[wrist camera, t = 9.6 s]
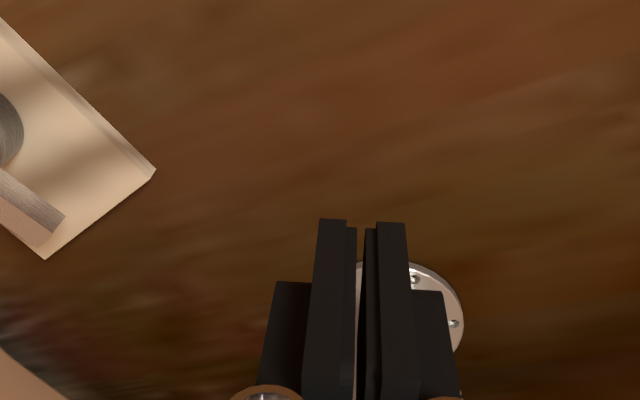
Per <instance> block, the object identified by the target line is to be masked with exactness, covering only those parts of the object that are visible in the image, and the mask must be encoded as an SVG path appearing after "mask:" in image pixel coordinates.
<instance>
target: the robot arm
mask: <svg viewBox="0 0 640 400" xmlns="http://www.w3.org/2000/svg"><path fill="white" fill-rule="evenodd" d="M346 223H347V220H343V219H325V218H320V220H319V228H318V236H317V245H316V254H315V262H314V271H313V279H312V283H303V282H287V281H277V283H276V286H275V290H274V295H273V300H272V305H271V311H270V316H269V321H268V326H267V331H266V336H265V341H264V346H263V351H262V356H261V361H260V366H259V371H258V376H257V381H256V386H253V387H249V388H247V389H245V390H243V391H241V392H238V393H237V394H236V395H234V396H233V397H232V398H231V399H230V400H463V399H461V391H460V388H459V383H458V377H457V371H456V365H455V360H454V354H453V352H454V351H455V350H456V348H457V347H458V345H459V342H460V340H461V338H462V334H463V328H464V322H463V313H462V309H461V305H460V301H459V299H458V297H457V295H456V294H455V292H454V290H453V289H452V288H451V287H450V285H449V284H448V283H447V282H446V281H445V280H444V279H442V278H441V277H440V276H439V275H437V274H436V273H435V272H433V271H431V270H429V269H427V268H425V267H423V266H420V265H417V264H414V263H411V262H409V261H408V251H407V242H406V232H405V224H404V223H396V222H378V221H377V222H376V229H374V228H366V229H365V240H364V252H363V261H361V262H358V263H356V260H357V228H356V227H346Z"/></svg>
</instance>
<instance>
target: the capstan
mask: <svg viewBox="0 0 640 400" xmlns="http://www.w3.org/2000/svg"><path fill="white" fill-rule="evenodd" d="M23 140H24V129H23V124H22V121H21V118H20V116H19V114H18V112H17V111H16V109H15V107H14V106H13V105H12V104H11V102H10V101H9V100H8V99H7V98H6V97H5V96H4V95H2V94H1V93H0V223H1V224H3V225H4V226H6V227H7V228H8V229H10V230H11V231H13V232H14V233H16V234H17V235H19V236H20V237H21V238H23V239H24V240H26V241H27V242H29V243H30V244H31V245H33V246H34V247H36V248H37V249H38V248H39V247H40V246H41V245H42V244H43V243H44V242H45V241H46V240H47V239H48V238H49V237H50V236H51V234H52V233H53V232H54V231H55V230H56V228H57V227H58V226H59V225H60V223H61V222H62V221H63V219H64V218H65V217H66V216H65V215H64V214H63V213H61V212H60V211H58V210H57V209H56V208H54V207H53V206H52V205H50V204H49V203H48V202H46V201H45V200H43V199H42V198H41V197H39V196H38V195H37V194H35V193H34V192H33V191H31V190H30V189H29V188H27V187H26V186H24V185H23V184H22V183H20V182H19V181H18V180H16V179H15V178H14V177H12V176H11V175H9V174H8V173H7V172H5V171H4V170H3V169H1V167H2V166H3V165H4V164H6V163H7V162H8V161H9V160H10V159H11V158H12V157H13V156H14V155H15V154H16V153H17V152H18V151H19V150H20V148H21V146H22V144H23Z"/></svg>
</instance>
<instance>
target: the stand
mask: <svg viewBox="0 0 640 400" xmlns="http://www.w3.org/2000/svg"><path fill="white" fill-rule="evenodd" d="M0 93H1V94H2V95H4V96H5V97H6V98H7V99H8V100H9V101H10V102H11V104H12V105H13V106H14V107H15V109H16V111H17V112H18V114H19V116H20V118H21V121H22V124H23V129H24V140H23V144H22V146H21V148H20V150H19V151H18V152H17V153H16V154H15V155H14V156H13V157H12V158H11V159H10V160H9V161H8V162H7V163H6V164H4V165H3V166H2V167H1V169H3V170H4V171H5V172H7V173H8V174H9V175H11V176H12V177H14V178H15V179H16V180H18V181H19V182H20V183H22V184H23V185H24V186H26V187H27V188H29V189H30V190H31V191H33V192H34V193H35V194H37V195H38V196H39V197H41V198H42V199H43V200H45V201H46V202H48V203H49V204H50V205H52V206H53V207H54V208H56V209H57V210H58V211H60V212H61V213H63V214H64V215H65V216H66V217H65V218H64V219H63V221H62V222H61V223H60V225H59V226H58V227H57V228H56V230H55V231H54V232H53V233H52V234H51V236H50V237H49V238H48V239H47V240H46V241H45V242H44V243H43V244H42V245H41V246H40V247H39V248H38V249H37V248H36V247H34V246H33V245H31V244H30V243H29V242H27V241H26V240H24V239H23V238H21V237H20V236H19V235H17V234H16V233H14V232H13V231H11V230H10V229H8V228H7V227H6V226H4V225H3V224H1V223H0V224H1V225H2V226H4V227H5V228H6V229H7V230H9V231H10V232H11V233H12V234H13V235H15V236H16V237H17V238H18V239H20V240H21V241H22V242H23V243H24V244H26V245H27V246H28V247H29V248H31V249H32V250H33V251H34V252H36V253H37V254H38V255H39V256H40V257H42V258H43V259H44V260H46V259H47V258H48V257H49V256H51V255H52V254H53V253H55V252H56V251H57V250H59V249H60V248H61V247H62V246H64V245H65V244H66V243H68V242H69V241H70V240H72V239H73V238H74V237H75V236H77V235H78V234H79V233H81V232H82V231H83V230H85V229H86V228H87V227H88V226H90V225H91V224H92V223H94V222H95V221H96V220H98V219H99V218H100V217H101V216H103V215H104V214H105V213H107V212H108V211H109V210H111V209H112V208H113V207H114V206H116V205H117V204H118V203H120V202H121V201H122V200H124V199H125V198H126V197H128V196H129V195H130V194H131V193H133V192H134V191H135V190H137V189H138V188H139V187H141V186H142V185H143V184H144V183H146V182H147V181H148V180H150V178H151V177H152V175H153V174H154V172H155V170H156V168H155V167H154V166H153V165H152V164H151V163H150V162H149V161H147V160H146V159H145V158H144V157H143V156H142V155H141V154H140V153H139V152H138V151H137V150H136V149H135V148H134V147H133V146H132V145H131V144H130V143H129V142H128V141H127V140H126V139H125V138H124V137H123V136H122V135H121V134H120V133H119V132H118V131H117V130H116V129H115V128H114V127H113V126H112V125H111V124H110V123H108V122H107V121H106V120H105V119H104V118H103V117H102V116H101V115H100V114H99V113H98V112H97V111H96V110H95V109H94V108H93V107H92V106H91V105H90V104H89V103H88V102H87V101H86V100H85V99H84V98H83V97H82V96H81V95H80V94H79V93H78V92H77V91H76V90H75V89H74V88H73V87H72V86H71V85H69V84H68V83H67V82H66V81H65V80H64V79H63V78H62V77H61V76H60V75H59V74H58V73H57V72H56V71H55V70H54V69H53V68H52V67H51V66H50V65H49V64H48V63H47V62H46V61H45V60H44V59H43V58H42V57H41V56H40V55H39V54H38V53H37V52H36V51H35V50H34V49H33V48H32V47H30V46H29V45H28V44H27V43H26V42H25V41H24V40H23V39H22V38H21V37H20V36H19V35H18V34H17V33H16V32H15V31H14V30H13V29H12V28H11V27H10V26H9V25H8V24H7V23H6V22H5V21H4V20H3V19H2V18H1V17H0Z"/></svg>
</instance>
